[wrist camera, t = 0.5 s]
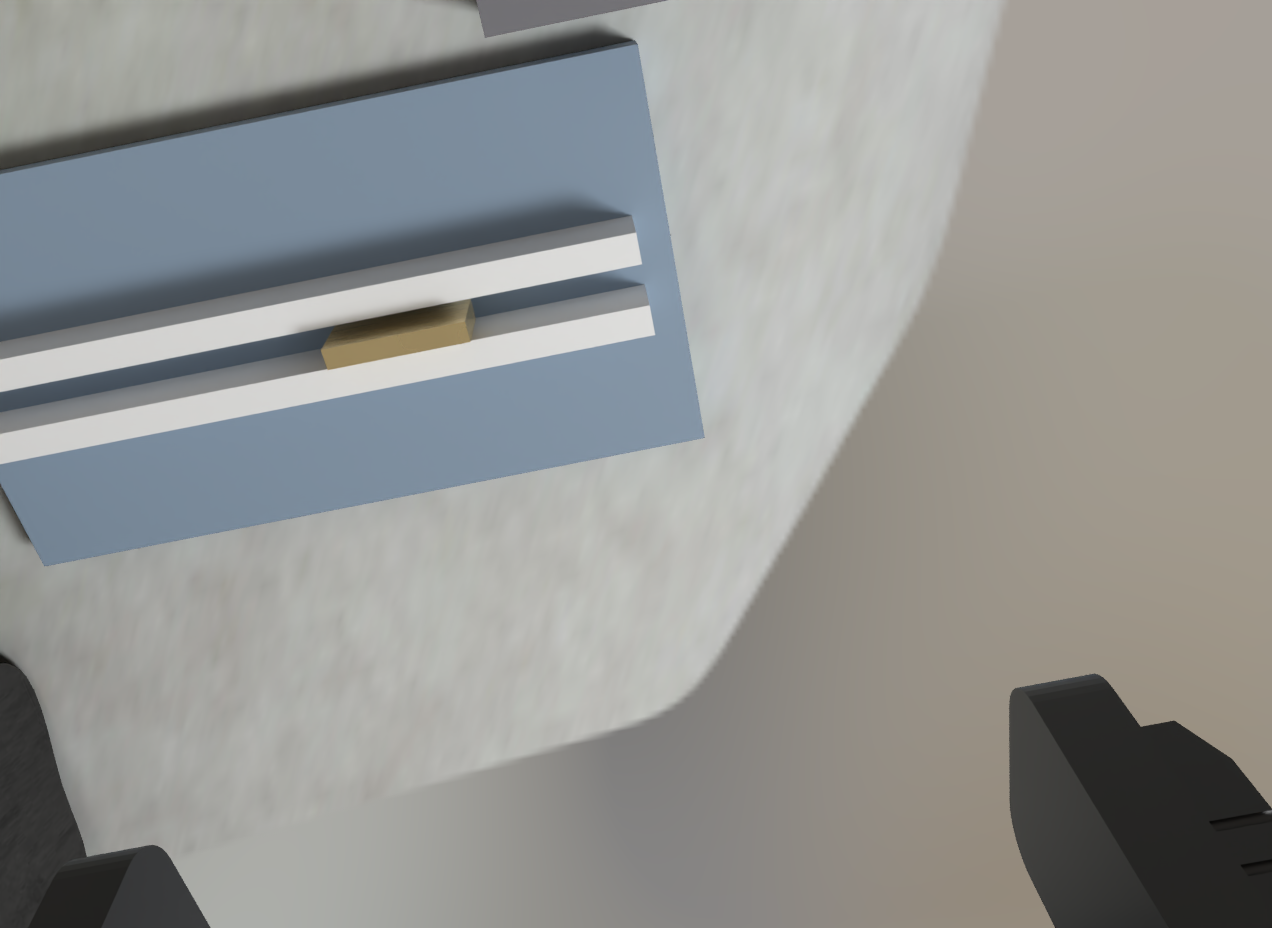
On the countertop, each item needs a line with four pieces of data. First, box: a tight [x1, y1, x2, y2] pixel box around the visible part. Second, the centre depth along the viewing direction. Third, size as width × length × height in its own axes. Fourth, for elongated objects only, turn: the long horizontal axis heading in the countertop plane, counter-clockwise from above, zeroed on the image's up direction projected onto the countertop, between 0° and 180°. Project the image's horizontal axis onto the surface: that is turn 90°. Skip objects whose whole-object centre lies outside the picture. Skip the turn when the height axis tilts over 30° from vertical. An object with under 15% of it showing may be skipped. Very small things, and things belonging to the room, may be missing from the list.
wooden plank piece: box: [321, 299, 476, 370], centre depth 29 cm, size 1×4×2 cm, turn 101°
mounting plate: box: [0, 40, 705, 566], centre depth 30 cm, size 12×22×3 cm, turn 100°
